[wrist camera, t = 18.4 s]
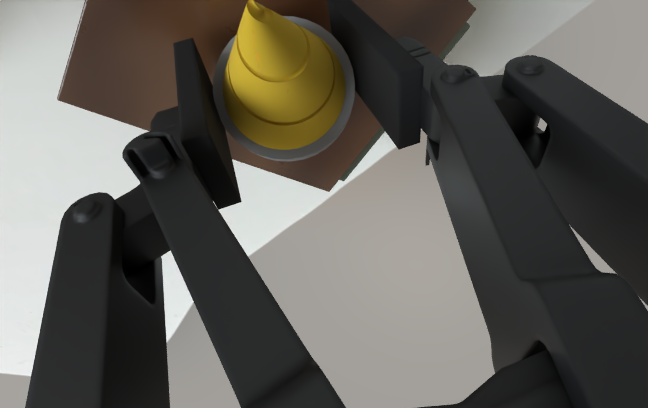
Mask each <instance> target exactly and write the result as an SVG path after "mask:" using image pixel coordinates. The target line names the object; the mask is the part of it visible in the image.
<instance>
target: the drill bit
mask: <svg viewBox="0 0 648 408" xmlns="http://www.w3.org/2000/svg"><path fill="white" fill-rule="evenodd" d="M213 96H214V102H215V105H216V107H217V110H218V113H219V116H220V119H221V122H222V123H223V125H224V127H225V128H226V130H227V131H228V132H229V133H230V135H231V136H232V137H233V138H234V139H235V140H236V141H237V142H238V143H240V144H241V145H242V146H244V147H245V148H247V149H248V150H250V151H251V152H253V153H255V154H257V155H260V156H262V157H264V158H267V159H271V160H275V161H289V162H291V161H297V160H304V159H306V158H309V157H312V156H314V155H317V154H318V153H320V152H321V151H323V150H325V149H326V148H328V147H329V146H330V145H331V144H332V143H333V142H334V141H335V140H336V139H337V138H338V136H339V135H340V134H341V132H342V131H343V130H344V128H345V126H346V124H347V121H348V119H349V117H350V114H351V110H352V106H353V102H354V98H355V79H354V73H353V68H352V66H351V63H350V60H349V57H348V55H347V54H346V52H345V50H344V49H343V47H342V45H341V44H340V43H339V42H338V41H337V40H336V39H335V37H334V36H333V35H332V34H331V33H329V32H328V31H327V30H325V29H324V28H323V27H321V26H320V25H317V24H315V23H313V22H311V21H309V20H306V19H302V18H298V17H294V16H281V15H279V14H277V13H276V12H274V11H272V10H270V9H268V8H265V6H263V5H261V4H259V3H257V2H255V1H253V0H249V1H248V2H247V4H246V7H245V9H244V13H243V16H242V19H241V22H240V25H239V28H238V31H237V34H236V35H235V36H234V37H233V38H232V39H231V40H230V41H229V43H228V44H227V46H226V47H225V48H224V50H223V51H222V53H221V56H220V58H219V60H218V62H217V64H216V69H215V73H214V77H213Z"/></svg>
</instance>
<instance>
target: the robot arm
mask: <svg viewBox="0 0 648 408" xmlns="http://www.w3.org/2000/svg"><path fill="white" fill-rule="evenodd" d="M327 4H328V11H329V19H330V26H331V33H332V35H333V36H334V37H335V39H336V40H337V41H338V42H339V43H340V44H341V45H342V47H343V49H344V50H345V52H346V54H347V55H348V57H349V60H350V63H351V66H352V68H353V73H354V79H355V91H356V92H357V93H358V95H359V96H360V97H361V99H362V100H363V102H364V103H365V104H366V106H367V107H368V108H369V110H370V111H371V112H372V114H373V115H374V116H375V118H376V119H377V120H378V122H379V123H380V125H381V126H382V127H383V129H384V130H385V131H386V133H387V134H388V135H389V137H390V138H391V139H392V141H393V142H394V143H395V145H396V146H397V148H398V149H402V148H405V147H407V146H411V145H414V144H417V143H420V132H421V129H422V130H423V131H424V132H425V133H426V134H427V149H426V165H429V160H430V159H431V162H432V165H433V168H434V171H435V174H436V176H437V180H438V182H439V185H440V188H441V191H442V194H443V197H444V200H445V203H446V206H447V209H448V212H449V215H450V218H451V221H452V224H453V227H454V230H455V233H456V236H457V239H458V242H459V245H460V248H461V251H462V254H463V256H464V260H465V263H466V266H467V269H468V271H469V275H470V277H471V281H472V283H473V287H474V289H475V292H476V295H477V298H478V301H479V304H480V307H481V310H482V313H483V316H484V319H485V322H486V325H487V328H488V331H489V334H490V338H491V348H492V361H493V366H494V370H495V374H494V375H493V376H492V377H491V378H489V379H488V380H487V381H486V382H485V383H484V384H482V385H481V386H480V387H479V388H478V389H477V390H475V391H474V392H473V393H472V394H471V395H469V397H467V398H466V399H465V400H464V401H462V402H460V403H458V404H453V405H442V406H431V407H419V408H648V311H647V309H646V308H645V306H644V305H643V303H642V302H641V300H640V298H641V299H642V300H643V301H644V302H645V303H646V304H647V305H648V124H647V123H646V122H645V121H643V120H641V119H640V118H638V117H637V116H635V115H634V114H632V113H631V112H629V111H627V110H626V109H624V108H623V107H621V106H620V105H618V104H617V103H615V102H613V101H612V100H611V99H609V98H607V97H606V96H604V95H603V94H601V93H600V92H598V91H597V90H595V89H593V88H592V87H590V86H589V85H587V84H586V83H584V82H583V81H581V80H579V79H578V78H577V77H575V76H573V75H572V74H570V73H569V72H567V71H566V70H564V69H563V68H561V67H560V66H558V65H556V64H555V63H553V62H552V61H550V60H548V59H545V58H542V57H537V56H533V55H531V56H529V55H527V56H522V57H516V58H514V59H512V60H510V61H509V62H508V63H507V64H506V66H505V71H504V75H496V76H487V77H479V75H478V73H477V72H476V71H475V70H474V69H472V68H470V67H467V66H462V65H447V64H445V63H444V62H443V61H442V60H441V59H439V58H438V57H437V56H436V55H435V54H434V53H431V51H430V50H429V49H428V48H425V46H424V45H423V44H422V43H420V42H419V41H418V40H416V39H413V38H410V37H407V36H404V37H400V38H397V39H393V38H392V37H391V36H390V35H389V34H388V33H387V32H386V31H385V30H384V29H383V28H381V27H380V26H379V25H378V24H377V23H376V22H375V21H374V20H373V19H372V18H371V17H369V16H368V15H367V14H366V13H365V12H364V11H363V10H362V9H361V8H360V7H359V6H357V5H356V4H355V3H354V2H353V1H352V0H327ZM173 46H174V60H175V73H176V86H177V99H178V106H176V107H173V108H169V109H166V110H163V111H159V112H157V113H156V114H155V116H154V118H153V119H152V121H151V123H150V132H147V133H144V134H141V135H139V136H138V137H136V138H134V139H133V140H132V141H131V142H129V143H128V144H127V145H126V147H125V149H124V150H123V159H124V160H125V162H126V163H127V164H128V166H129V167H130V169H131V170H132V171H133V173H134V174H135V175H136V177H137V178H138V179H139V181H140V183H141V184H139V185H138V186H137V187H136V188H134V189H133V190H131V191H130V192H128V193H126V194H124V195H123V196H121V197H119V198H117V199H115V200H114V199H113V197H112V196H110V195H109V194H107V193H100V192H99V193H94V194H90V195H87V196H85V197H83V198H81V199H79V200H77V201H76V202H75V203H73V204H72V205H71V206H70V207H69V208H68V210H67V211H66V212H65V213H64V216H63V218H62V220H61V225H60V230H59V235H58V241H57V246H56V251H55V256H54V261H53V266H52V272H51V277H50V282H49V287H48V292H47V298H46V303H45V308H44V313H43V318H42V323H41V329H40V334H39V339H38V344H37V349H36V354H35V360H34V365H33V370H32V375H31V380H30V386H29V391H28V396H27V401H26V407H25V408H170V402H169V401H170V400H169V382H168V365H167V349H166V348H167V346H166V328H165V311H164V293H163V275H162V258H161V256H162V255H164V254H165V253H167V252H168V251H170V250H171V252H172V254H173V256H174V259H175V261H176V263H177V265H178V268H179V270H180V272H181V274H182V276H183V279H184V281H185V283H186V285H187V288H188V290H189V292H190V294H191V296H192V299H193V301H194V303H195V305H196V308H197V310H198V312H199V314H200V316H201V319H202V321H203V323H204V325H205V328H206V330H207V332H208V334H209V337H210V338H211V341H212V343H213V345H214V348H215V350H216V352H217V354H218V357H219V358H220V361H221V363H222V365H223V368H224V370H225V372H226V374H227V377H228V379H229V381H230V383H231V385H232V388H233V390H234V392H235V394H236V397H237V399H238V401H239V404H240V406H241V408H346V407H345V406H344V404H343V402H342V401H341V399H340V398H339V396H338V395H337V393H336V391H335V390H334V388H333V387H332V385H331V384H330V382H329V381H328V379H327V378H326V376H325V375H324V373H323V371H322V370H321V369H320V368H319V366H318V364H317V363H316V362H315V361H314V360H313V358H312V357H311V355H310V354H309V352H308V351H307V349H306V347H305V346H304V344H303V343H302V341H301V340H300V338H299V337H298V335H297V333H296V332H295V330H294V329H293V327H292V326H291V324H290V322H289V321H288V319H287V318H286V316H285V314H284V313H283V311H282V310H281V308H280V307H279V305H278V303H277V302H276V301H275V299H274V297H273V296H272V294H271V293H270V291H269V289H268V288H267V286H266V285H265V283H264V281H263V280H262V278H261V277H260V275H259V274H258V272H257V270H256V269H255V267H254V266H253V264H252V263H251V261H250V259H249V258H248V256H247V255H246V253H245V252H244V250H243V248H242V247H241V245H240V244H239V242H238V241H237V239H236V237H235V236H234V234H233V233H232V231H231V230H230V228H229V226H228V225H227V223H226V222H225V220H224V219H223V217H222V215H221V214H220V212H219V211H218V209H221V208H224V207H227V206H230V205H233V204H237V203H240V202H241V198H240V193H239V189H238V184H237V180H236V176H235V171H234V167H233V162H232V158H231V153H230V149H229V144H228V140H227V135H226V131H225V127H224V125H223V123H222V122H221V119H220V116H219V113H218V110H217V107H216V105H215V102H214V96H213V85H212V83H211V80H210V78H209V75H208V73H207V71H206V68H205V66H204V63H203V61H202V59H201V56H200V54H199V51H198V49H197V47H196V44H195V42H194V39H193V38H189V39H186V40H182V41H179V42H175V43H173ZM540 118H542V119H543V120H544V121H545V122H546V123H547V127H546V130H545V131H542V130H541V129H539V128H538V127H537V126H538V123H539V120H540ZM213 201H214V203H215V204H214V203H213ZM215 205H216V206H217V208H218V209H217V208H216V206H215ZM569 225H570V226H571V227H572V228H573V229H574V230H575V231H576V232H577V233H578V234H579V235H580V236H581V237H582V238H583V239H584V240H585V241H586V242H587V243H588V244H589V245H590V247H591V248H592V249H593V250H594V251H595V252H596V253H597V254H598V255H599V256H600V257H601V258H602V259H603V260H604V261H605V262H606V263H607V264H608V265H609V266H610V267H611V268H612V269H613V270H614V271H615V272H616V273H617V274H618V275H619V276H618V275H617V274H613V273H602V272H600V271H599V270H597V269H596V268H595V266H594V265H593V264H592V262H591V261H590V259H589V258H588V256H587V254H586V253H585V251H584V249H583V247H582V246H581V244H580V243H579V241H578V239H577V237H576V236H575V234H574V232H573V231H572V229H571V228H570V226H569ZM638 296H639V297H640V298H639V297H638Z"/></svg>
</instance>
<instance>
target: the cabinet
mask: <svg viewBox="0 0 648 408" xmlns="http://www.w3.org/2000/svg"><path fill="white" fill-rule="evenodd" d="M248 1H249V0H85V3H84V7H83V10H82V14H81V17H80V21H79V24H78V27H77V31H76V34H75V38H74V41H73V45H72V48H71V52H70V55H69V59H68V62H67V66H66V69H65V73H64V76H63V80H62V83H61V87H60V90H59V94H58V97H57V99H58V100H59V101H62V102H65V103H68V104H71V105H74V106H77V107H80V108H83V109H85V110H88V111H91V112H94V113H97V114H100V115H103V116H106V117H109V118H112V119H115V120H118V121H121V122H124V123H127V124H130V125H133V126H136V127H139V128H142V129H145V130H148V131H150V123H151V121H152V119H153V118H154V116H155V114H156V113H157V112H159V111H163V110H166V109H169V108H173V107H176V106H178V99H177V86H176V73H175V60H174V46H173V43H175V42H179V41H182V40H186V39H189V38H193V39H194V42H195V44H196V47H197V49H198V51H199V54H200V56H201V59H202V61H203V63H204V66H205V68H206V71H207V73H208V75H209V78H210V80H211V83H212V85H213V77H214V73H215V69H216V64H217V62H218V60H219V58H220V56H221V53H222V51H223V50H224V48H225V47H226V46H227V44H228V43H229V41H230V40H231V39H232V38H233V37H234V36H235V35H236V34H237V31H238V28H239V25H240V22H241V19H242V16H243V13H244V9H245V7H246V4H247V2H248ZM253 1H255V2H257V3H259V4H261V5H263V6H265V8H268V9H270V10H272V11H274V12H276V13H277V14H279V15H281V16H294V17H298V18H302V19H306V20H309V21H311V22H313V23H315V24H317V25H320V26H321V27H323V28H324V29H325V30H327V31H328V32H329V33H331V26H330V19H329V11H328V4H327V0H253ZM352 1H353V2H354V3H355V4H356V5H357V6H359V7H360V8H361V9H362V10H363V11H364V12H365V13H366V14H367V15H368V16H369V17H371V18H372V19H373V20H374V21H375V22H376V23H377V24H378V25H379V26H380V27H381V28H383V29H384V30H385V31H386V32H387V33H388V34H389V35H390V36H391V37H392V38H393V39H397V38H400V37H404V36H407V37H410V38H413V39H416V40H418V41H419V42H420V43H422V44H423V45H424V46H425V48H428V49H429V50H430V51H431V53H434V54H435V55H436V56H437V57H438V56H439V55H440V53H441V52H442V51H443V50H444V48H445V47H446V46H447V45H448V43H449V42H450V41H451V40H452V39H453V37H454V36H455V35H456V34H457V32H458V31H459V30H460V29H461V27H462V26H463V25H464V24H465V22H466V21H467V20H468V19H469V17H470V16H471V15H472V14H473V12H474V11H475V10H476V8H475V7H474V6H473V5H472V4H471V3H470V2H469V1H468V0H352ZM331 34H332V33H331ZM381 127H382V126H381V125H380V123H379V122H378V120H377V119H376V118H375V116H374V115H373V114H372V112H371V111H370V110H369V108H368V107H367V106H366V104H365V103H364V102H363V100H362V99H361V97H360V96H359V95H358V93H357V92H356V91H355V98H354V102H353V106H352V110H351V114H350V117H349V119H348V121H347V124H346V126H345V128H344V130H343V131H342V132H341V134H340V135H339V136H338V138H337V139H336V140H335V141H334V142H333V143H332V144H331V145H330V146H329V147H328V148H326V149H325V150H323V151H321V152H320V153H318V154H317V155H314V156H312V157H309V158H306V159H304V160H297V161H291V162H289V161H275V160H271V159H267V158H264V157H262V156H260V155H257V154H255V153H253V152H251V151H250V150H248V149H247V148H245V147H244V146H242V145H241V144H240V143H238V142H237V141H236V140H235V139H234V138H233V137H232V136H231V135H230V133H229V132H228V131H227V130H226V128H225V131H226V135H227V140H228V144H229V149H230V153H231V158H232V159H234V160H237V161H239V162H242V163H245V164H248V165H251V166H254V167H257V168H260V169H263V170H266V171H269V172H272V173H275V174H278V175H281V176H284V177H287V178H290V179H293V180H296V181H299V182H302V183H305V184H308V185H311V186H314V187H316V188H319V189H322V190H325V191H328V192H329V191H330V190H331V189H332V188H333V186H334V185H335V184H336V183H337V181H338V180H339V179H340V178H341V176H342V175H343V174H344V173H345V172H346V170H347V169H348V168H349V167H350V165H351V164H352V163H353V162H354V160H355V159H356V158H357V157H358V155H359V154H360V153H361V152H362V150H363V149H364V148H365V147H366V145H367V144H368V143H369V142H370V140H371V139H372V138H373V137H374V135H375V134H376V133H377V132H378V130H379V129H380V128H381Z"/></svg>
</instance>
